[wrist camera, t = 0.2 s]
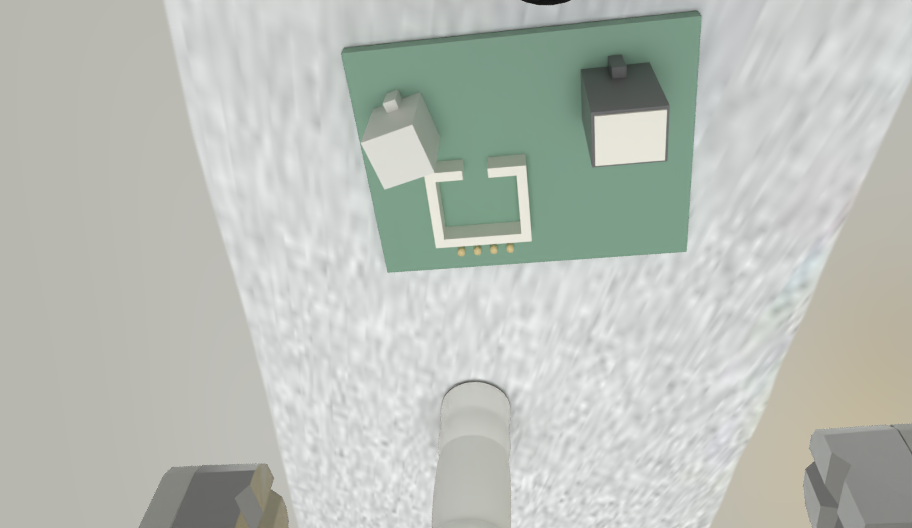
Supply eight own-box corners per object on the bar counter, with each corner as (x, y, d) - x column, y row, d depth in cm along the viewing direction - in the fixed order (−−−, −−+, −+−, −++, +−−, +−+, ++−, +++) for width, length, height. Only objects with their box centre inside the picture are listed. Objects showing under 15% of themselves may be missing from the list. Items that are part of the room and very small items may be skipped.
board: (343, 47, 56) (336, 62, 53) (697, 10, 53) (707, 24, 51) (389, 264, 67) (384, 285, 65) (683, 244, 64) (691, 265, 62)
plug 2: (580, 58, 54) (591, 102, 48) (649, 51, 54) (670, 94, 47) (581, 119, 57) (592, 168, 50) (648, 113, 56) (668, 162, 50)
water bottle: (524, 405, 76) (532, 646, 56) (475, 436, 80) (465, 675, 59) (477, 367, 74) (466, 605, 53) (427, 401, 77) (400, 638, 56)
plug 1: (368, 100, 57) (355, 133, 52) (415, 82, 56) (407, 114, 51) (394, 153, 60) (384, 189, 55) (440, 137, 59) (434, 172, 54)
